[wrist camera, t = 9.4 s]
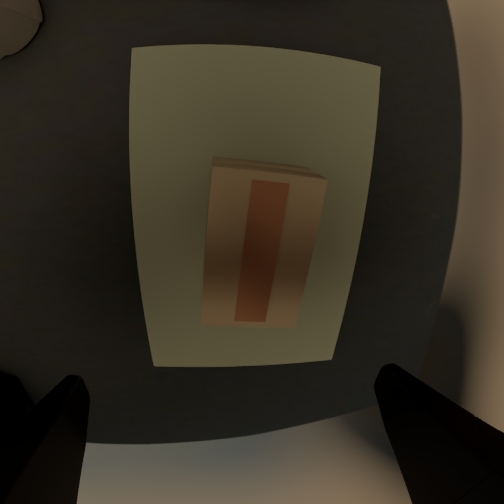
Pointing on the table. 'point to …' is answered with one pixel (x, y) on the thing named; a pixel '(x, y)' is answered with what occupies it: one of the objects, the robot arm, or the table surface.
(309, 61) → the rubber mat
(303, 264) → the striped cardboard box
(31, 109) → the table surface
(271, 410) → the table surface
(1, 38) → the white curved upright piece
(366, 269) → the table surface
